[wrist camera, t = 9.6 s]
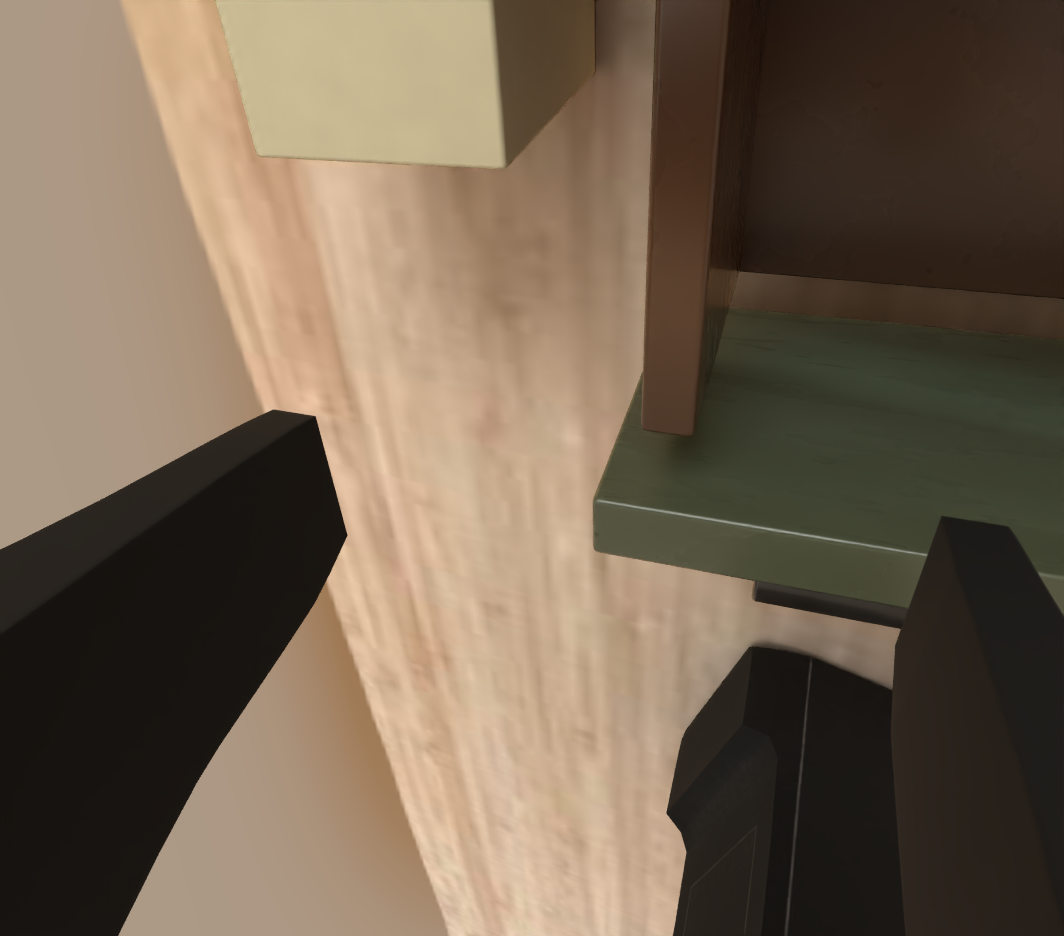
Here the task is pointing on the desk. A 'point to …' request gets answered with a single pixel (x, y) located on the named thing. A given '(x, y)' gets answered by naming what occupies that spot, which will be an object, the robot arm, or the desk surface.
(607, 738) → the desk surface
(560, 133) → the desk surface
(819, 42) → the drawer
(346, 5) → the note cube
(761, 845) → the portable radio
